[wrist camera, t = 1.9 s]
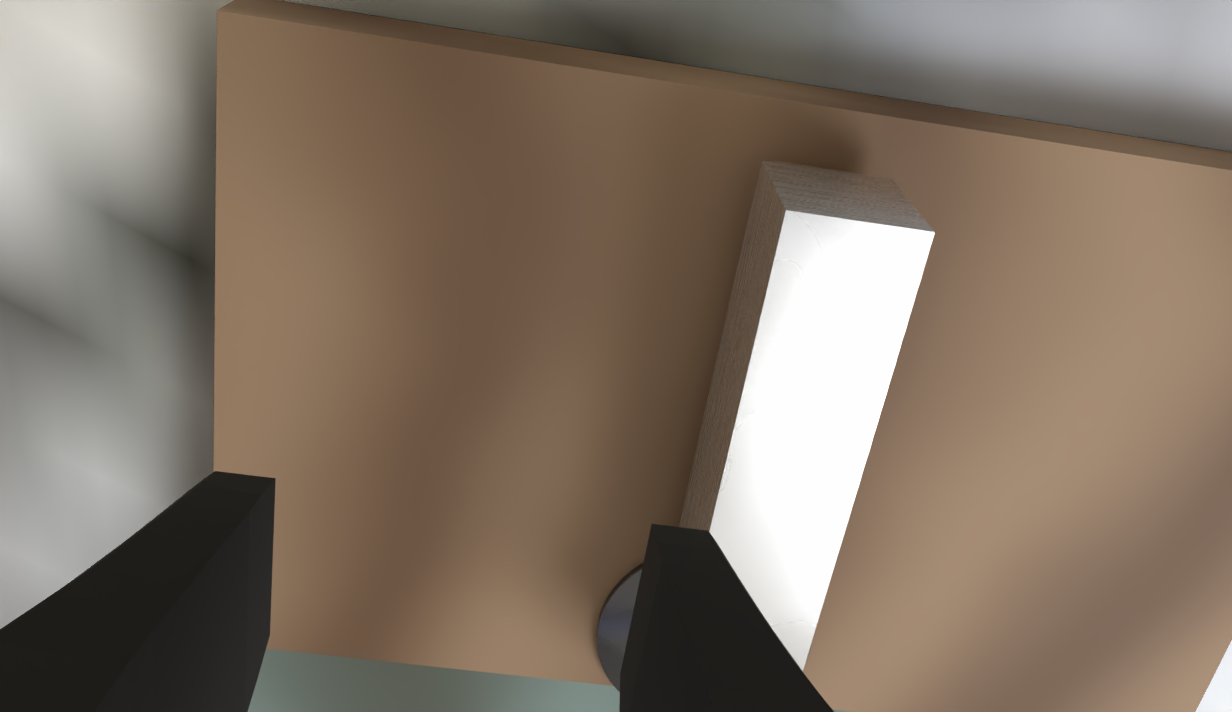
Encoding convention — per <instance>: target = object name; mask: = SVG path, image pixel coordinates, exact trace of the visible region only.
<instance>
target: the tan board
mask: <svg viewBox="0 0 1232 712" xmlns="http://www.w3.org/2000/svg"><path fill="white" fill-rule="evenodd" d="M761 159H764V160H771V161H777V162H784V163H791V164H797V165H804V166H810V167H817V168H823V169H830V170H837V171H843V172H850V173H856V174H863V175H869V176H876V177H882V178H889V179H893V180H894V182H895V183H896V184H897V185H898V187H899V188H900V189H901V190H902V192H903V193H904V194H905V195H906V197H907V198H908V199H909V200H910V202H911V203H912V204H913V205H914V207H915V208H916V209H917V210H918V212H919V213H920V214H921V215H922V217H923V218H924V219H925V220H926V222H927V223H928V224H929V225H930V227H931V228H932V229H933V230H934V232H935V234H934V237H933V240H932V244H931V247H930V250H929V254H928V257H927V260H926V264H925V267H924V270H923V274H922V277H921V280H920V284H919V287H918V290H917V294H916V297H915V300H914V304H913V307H912V310H911V313H910V317H909V320H908V323H907V327H906V330H905V333H904V337H903V340H902V343H901V347H900V350H899V353H898V357H897V360H896V363H895V367H894V370H893V373H892V377H891V380H890V383H889V387H888V390H887V393H886V397H885V400H884V403H883V407H882V410H881V413H880V417H879V420H878V423H877V427H876V430H875V433H874V437H873V440H872V443H871V446H870V450H869V453H868V456H867V460H866V463H865V466H864V470H863V473H862V476H861V480H860V483H859V486H858V490H857V493H856V496H855V500H854V503H853V506H852V510H851V513H850V516H849V520H848V523H847V526H846V530H845V533H844V536H843V540H842V543H841V546H840V550H839V553H838V556H837V560H836V563H835V566H834V570H833V573H832V576H831V579H830V583H829V586H828V589H827V593H826V596H825V599H824V603H823V606H822V609H821V613H820V616H819V619H818V623H817V626H816V629H815V633H814V636H813V639H812V644H811V648H810V652H809V655H808V658H807V660H806V663H805V666H804V669H803V673H804V674H805V675H806V677H807V678H808V679H809V680H810V682H811V683H812V684H813V686H814V687H815V688H816V690H817V691H818V692H819V694H820V695H821V696H822V697H823V699H824V700H825V701H826V702H827V704H828V705H829V706H830V707H831V708H832V710H833V711H834V712H1195V711H1196V709H1197V707H1198V705H1199V703H1200V701H1201V699H1202V698H1203V696H1204V694H1205V692H1206V690H1207V688H1208V686H1209V684H1210V682H1211V680H1212V678H1213V676H1214V674H1215V672H1216V670H1217V668H1218V666H1219V664H1220V662H1221V660H1222V658H1223V656H1224V654H1225V652H1226V650H1227V648H1228V646H1229V644H1230V642H1231V640H1232V152H1227V151H1221V150H1215V149H1209V148H1202V147H1196V146H1190V145H1183V144H1177V143H1171V142H1165V141H1158V140H1152V139H1146V138H1139V137H1133V136H1127V135H1121V134H1114V133H1108V132H1102V131H1096V130H1089V129H1083V128H1077V127H1070V126H1064V125H1058V124H1052V123H1045V122H1039V121H1033V120H1026V119H1020V118H1014V117H1008V116H1001V115H995V114H989V113H982V112H976V111H970V110H964V109H957V108H951V107H945V106H938V105H932V104H926V103H920V102H913V101H907V100H901V99H894V98H888V97H882V96H876V95H869V94H863V93H857V92H851V91H844V90H838V89H832V88H825V87H819V86H813V85H807V84H800V83H794V82H788V81H781V80H775V79H769V78H763V77H756V76H750V75H744V74H737V73H731V72H725V71H719V70H712V69H706V68H700V67H693V66H687V65H681V64H675V63H668V62H662V61H656V60H649V59H643V58H637V57H631V56H624V55H618V54H612V53H606V52H599V51H593V50H587V49H580V48H574V47H568V46H562V45H555V44H549V43H543V42H536V41H530V40H524V39H518V38H511V37H505V36H499V35H492V34H486V33H480V32H474V31H467V30H461V29H455V28H448V27H442V26H436V25H430V24H423V23H417V22H411V21H405V20H398V19H392V18H386V17H379V16H373V15H367V14H361V13H354V12H348V11H342V10H335V9H329V8H323V7H317V6H310V5H304V4H298V3H291V2H285V1H279V0H234V1H232V2H231V3H229V4H227V5H226V6H224V7H222V8H220V9H219V10H217V83H216V214H215V344H214V472H215V471H220V472H228V473H236V474H245V475H253V476H261V477H269V478H276V481H275V509H274V537H273V565H272V593H271V621H270V637H269V640H268V644H267V647H266V651H265V654H264V658H263V661H262V665H261V668H260V672H259V675H258V679H257V682H256V686H255V689H254V692H253V695H252V699H251V702H250V705H249V709H248V712H619V705H620V692H619V691H618V690H617V689H616V688H615V687H614V686H613V684H612V683H611V682H610V681H609V679H608V677H607V676H606V674H605V672H604V670H603V668H602V665H601V663H600V659H599V655H598V651H597V626H598V619H599V616H600V612H601V609H602V607H603V605H604V603H605V600H606V599H607V597H608V596H609V594H610V592H611V591H612V589H613V588H614V587H615V586H616V585H617V584H618V582H619V581H620V580H621V579H622V578H623V577H624V576H626V575H627V574H628V573H629V572H630V571H631V570H633V569H634V568H636V567H637V566H639V565H640V564H642V563H643V562H644V558H645V553H646V548H647V543H648V539H649V534H650V529H651V524H658V525H666V526H674V527H679V525H680V520H681V516H682V511H683V507H684V502H685V498H686V493H687V489H688V484H689V480H690V475H691V471H692V466H693V462H694V457H695V453H696V448H697V444H698V439H699V435H700V431H701V426H702V422H703V417H704V413H705V408H706V404H707V399H708V395H709V390H710V386H711V381H712V377H713V372H714V368H715V363H716V359H717V354H718V350H719V345H720V341H721V336H722V332H723V328H724V323H725V319H726V314H727V310H728V305H729V301H730V296H731V292H732V287H733V283H734V278H735V274H736V269H737V265H738V260H739V256H740V251H741V247H742V242H743V238H744V233H745V229H746V225H747V220H748V216H749V211H750V207H751V202H752V198H753V193H754V189H755V184H756V180H757V175H758V171H759V166H760V162H761Z"/></svg>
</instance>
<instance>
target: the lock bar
mask: <svg viewBox="0 0 1232 712" xmlns="http://www.w3.org/2000/svg"><path fill="white" fill-rule="evenodd" d="M934 234H935V232H934V230H933V229H932V228H931V227H930V225H929V224H928V223H927V222H926V220H925V219H924V218H923V217H922V215H921V214H920V213H919V212H918V210H917V209H916V208H915V207H914V205H913V204H912V203H911V202H910V200H909V199H908V198H907V197H906V195H905V194H904V193H903V192H902V190H901V189H900V188H899V187H898V185H897V184H896V183H895V182H894V180H893V179H889V178H882V177H876V176H869V175H863V174H856V173H850V172H843V171H837V170H830V169H823V168H817V167H810V166H804V165H797V164H791V163H784V162H777V161H771V160H764V159H761V162H760V166H759V171H758V175H757V180H756V184H755V189H754V193H753V198H752V202H751V207H750V211H749V216H748V220H747V225H746V229H745V233H744V238H743V242H742V247H741V251H740V256H739V260H738V265H737V269H736V274H735V278H734V283H733V287H732V292H731V296H730V301H729V305H728V310H727V314H726V319H725V323H724V328H723V332H722V336H721V341H720V345H719V350H718V354H717V359H716V363H715V368H714V372H713V377H712V381H711V386H710V390H709V395H708V399H707V404H706V408H705V413H704V417H703V422H702V426H701V431H700V435H699V439H698V444H697V448H696V453H695V457H694V462H693V466H692V471H691V475H690V480H689V484H688V489H687V493H686V498H685V502H684V507H683V511H682V516H681V520H680V525H679V527H682V528H691V529H699V530H707V531H709V532H710V534H711V535H712V536H713V538H714V539H715V541H716V542H717V544H718V545H719V547H720V548H721V550H722V552H723V553H724V555H725V556H726V558H727V560H728V561H729V563H730V564H731V566H732V568H733V569H734V571H735V572H736V574H737V576H738V577H739V579H740V580H741V582H742V584H743V585H744V587H745V588H746V590H747V591H748V593H749V594H750V596H751V598H752V599H753V601H754V602H755V604H756V605H757V607H758V608H759V610H760V611H761V613H762V614H763V616H764V617H765V619H766V620H767V622H768V623H769V625H770V626H771V628H772V629H773V631H774V632H775V633H776V635H777V636H778V638H779V639H780V640H781V642H782V643H783V645H784V646H785V647H786V649H787V650H788V652H789V653H790V654H791V656H792V657H793V659H794V660H795V661H796V663H797V664H798V666H799V667H800V668H801V670H802V671H803V669H804V666H805V663H806V659H807V656H808V653H809V649H810V646H811V643H812V639H813V636H814V633H815V629H816V626H817V623H818V619H819V616H820V613H821V609H822V606H823V603H824V599H825V596H826V593H827V589H828V586H829V583H830V579H831V576H832V573H833V570H834V566H835V563H836V560H837V556H838V553H839V550H840V546H841V543H842V540H843V536H844V533H845V530H846V526H847V523H848V520H849V516H850V513H851V510H852V506H853V503H854V500H855V496H856V493H857V490H858V486H859V483H860V480H861V476H862V473H863V470H864V466H865V463H866V460H867V456H868V453H869V450H870V446H871V443H872V440H873V437H874V433H875V430H876V427H877V423H878V420H879V417H880V413H881V410H882V407H883V403H884V400H885V397H886V393H887V390H888V387H889V383H890V380H891V377H892V373H893V370H894V367H895V363H896V360H897V357H898V353H899V350H900V347H901V343H902V340H903V337H904V333H905V330H906V327H907V323H908V320H909V317H910V313H911V310H912V307H913V304H914V300H915V297H916V294H917V290H918V287H919V284H920V280H921V277H922V274H923V270H924V267H925V264H926V260H927V257H928V254H929V250H930V247H931V244H932V240H933V237H934Z"/></svg>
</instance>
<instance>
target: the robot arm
mask: <svg viewBox="0 0 1232 712" xmlns="http://www.w3.org/2000/svg"><path fill="white" fill-rule="evenodd" d="M275 481H276V478H269V477H261V476H253V475H245V474H236V473H228V472H220V471H215V472H213V473H212V474H210V475H209V476H208V477H206V478H205V479H203V480H202V481H201V482H200V483H198V484H197V485H196V486H194V487H193V488H192V489H190V490H189V491H188V492H187V493H185V494H184V495H183V496H182V497H180V498H179V499H178V500H177V501H175V502H174V503H173V504H172V505H170V506H169V507H168V508H167V509H165V510H164V511H163V512H162V513H160V514H159V515H158V516H157V517H155V518H154V519H153V520H152V521H150V522H149V523H148V524H146V525H145V526H144V527H143V528H141V529H140V530H139V531H138V532H136V533H135V534H134V535H132V536H131V537H130V538H129V539H127V540H126V541H125V542H123V543H122V544H121V545H119V546H118V547H117V548H115V549H114V550H113V551H111V552H110V553H109V554H107V555H106V556H105V557H103V558H102V559H101V560H99V561H98V562H97V563H95V564H94V565H93V566H91V567H90V568H89V569H87V570H86V571H85V572H83V573H82V574H81V575H79V576H78V577H76V578H75V579H74V580H72V581H71V582H70V583H68V584H67V585H65V586H64V587H63V588H61V589H60V590H58V591H57V592H55V593H54V594H52V595H51V596H49V597H48V598H46V599H45V600H43V601H42V602H40V603H39V604H37V605H36V606H34V607H33V608H31V609H30V610H28V611H27V612H25V613H24V614H23V615H21V616H20V617H18V618H17V619H15V620H14V621H12V622H11V623H9V624H8V625H6V626H5V627H3V628H2V629H0V712H248V709H249V705H250V702H251V699H252V695H253V692H254V689H255V686H256V682H257V679H258V675H259V672H260V668H261V665H262V661H263V658H264V654H265V651H266V647H267V644H268V640H269V637H270V621H271V593H272V565H273V537H274V509H275ZM619 712H834V711H833V710H832V708H831V707H830V706H829V705H828V704H827V702H826V701H825V700H824V699H823V697H822V696H821V695H820V694H819V692H818V691H817V690H816V688H815V687H814V686H813V684H812V683H811V682H810V680H809V679H808V678H807V677H806V675H805V674H804V673H803V671H802V670H801V668H800V667H799V666H798V664H797V663H796V661H795V660H794V659H793V657H792V656H791V654H790V653H789V652H788V650H787V649H786V647H785V646H784V645H783V643H782V642H781V640H780V639H779V638H778V636H777V635H776V633H775V632H774V631H773V629H772V628H771V626H770V625H769V623H768V622H767V620H766V619H765V617H764V616H763V614H762V613H761V611H760V610H759V608H758V607H757V605H756V604H755V602H754V601H753V599H752V598H751V596H750V594H749V593H748V591H747V590H746V588H745V587H744V585H743V584H742V582H741V580H740V579H739V577H738V576H737V574H736V572H735V571H734V569H733V568H732V566H731V564H730V563H729V561H728V560H727V558H726V556H725V555H724V553H723V552H722V550H721V548H720V547H719V545H718V544H717V542H716V541H715V539H714V538H713V536H712V535H711V534H710V532H709V531H707V530H699V529H691V528H682V527H674V526H666V525H658V524H651V529H650V534H649V539H648V543H647V548H646V553H645V558H644V562H643V567H642V572H641V577H640V581H639V586H638V591H637V596H636V600H635V605H634V610H633V615H632V620H631V624H630V629H629V634H628V639H627V643H626V648H625V653H624V658H623V662H622V667H621V672H620V705H619Z"/></svg>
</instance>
